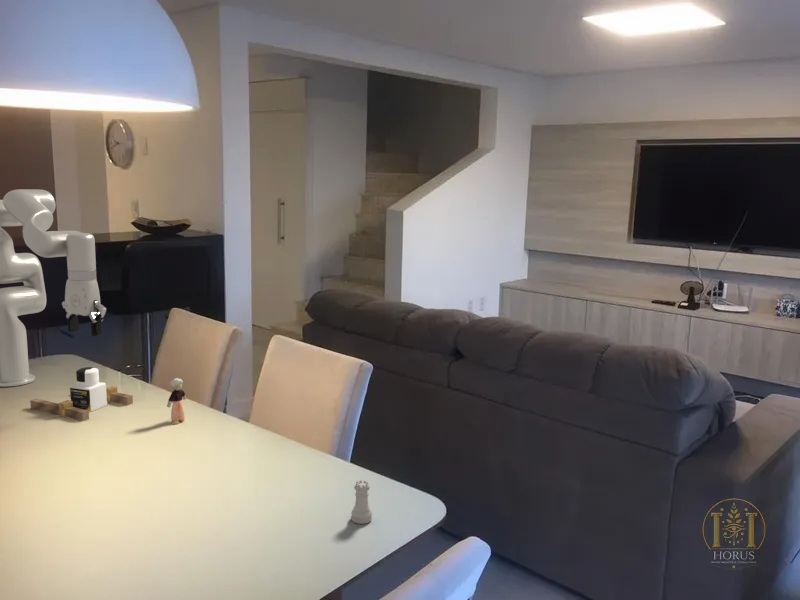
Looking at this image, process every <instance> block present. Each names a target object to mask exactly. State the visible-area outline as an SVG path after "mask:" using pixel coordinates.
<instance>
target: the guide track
mask: <svg viewBox="0 0 800 600" xmlns="http://www.w3.org/2000/svg"><path fill="white" fill-rule="evenodd" d="M106 393H107V403H111V402H112V403H115V404H119V405H120V404H121V405H124V406H129V405H132V404H133V403H134V400H133V397H134V396H133V395H131V394H127V393H122V392H118V387H117V386H115V385H114V386H113V385H111V386H109V387H106ZM30 409H32V410H35V411H40V412H43V413H44V412H45V413H49V414H52V415H57V416H59V417H61V418H69V419H73V420H76V421H77V420H78V421H81V422H85V421H87V420H89V419H90V414H89V413H90V412H89V410H84V409H80V408H75V407H73V401H71V399H70V400H69V399H67V400H63V401H59V402H58V403H57V402H52V401H49V400H44V399H40V398H33V399H31V400H30Z"/></svg>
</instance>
